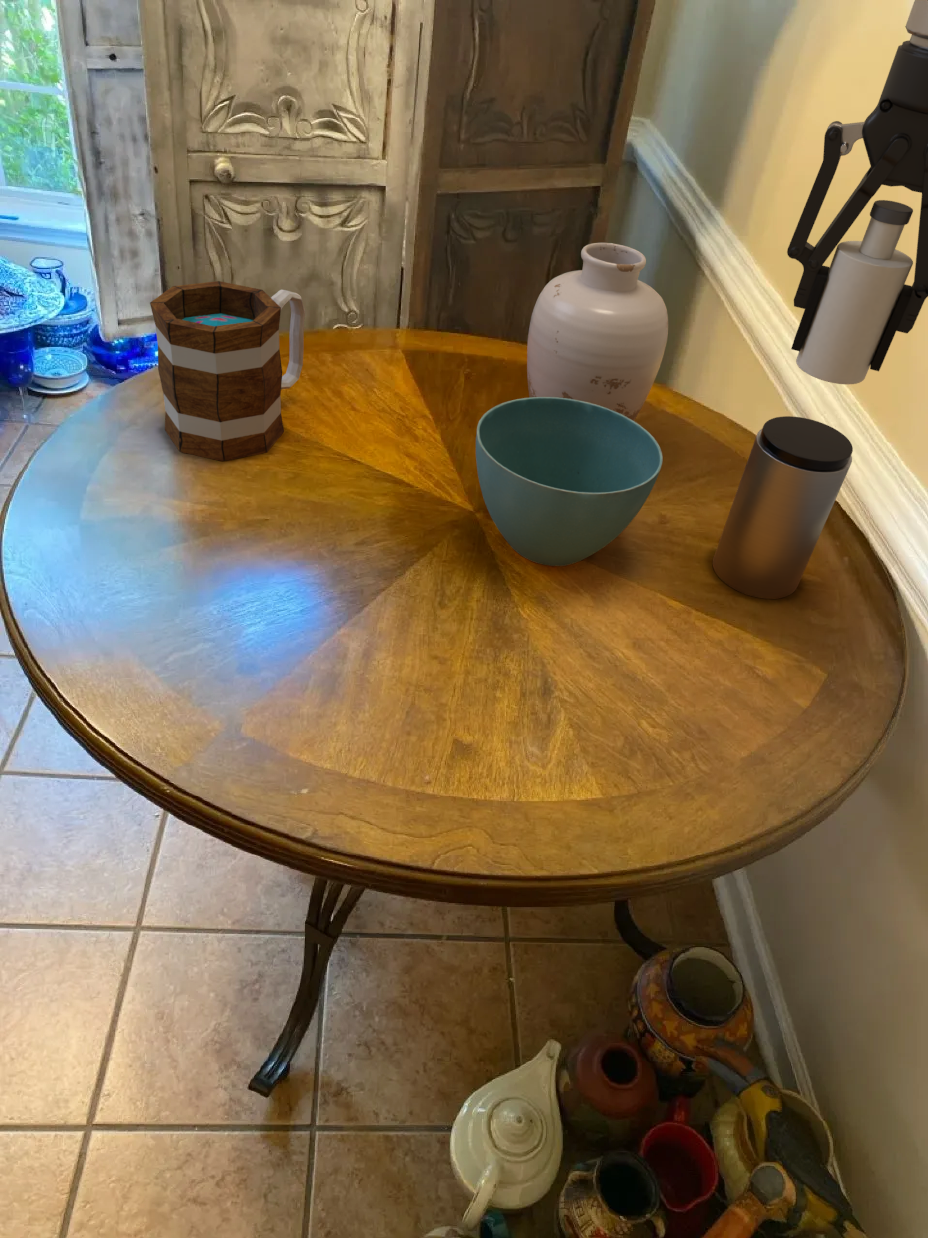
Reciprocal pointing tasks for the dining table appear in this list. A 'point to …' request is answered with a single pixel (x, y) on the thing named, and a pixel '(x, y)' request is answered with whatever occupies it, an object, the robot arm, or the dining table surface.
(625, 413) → the vase
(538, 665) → the dining table surface
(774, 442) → the metal canister
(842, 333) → the bottle
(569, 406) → the plant pot
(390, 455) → the dining table surface
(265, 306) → the mug
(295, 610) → the dining table surface
